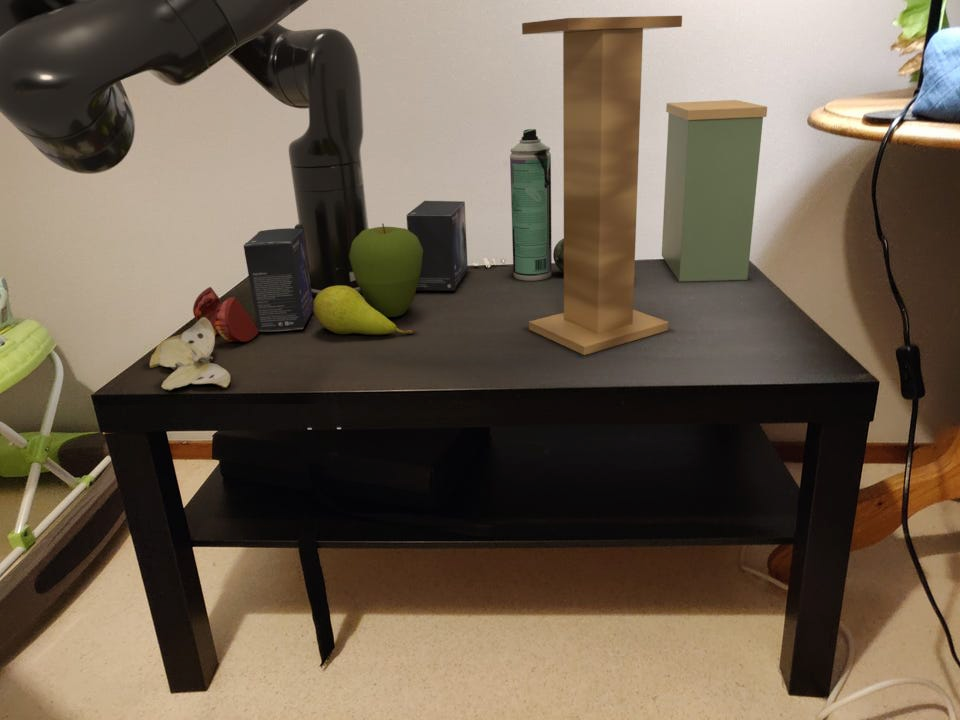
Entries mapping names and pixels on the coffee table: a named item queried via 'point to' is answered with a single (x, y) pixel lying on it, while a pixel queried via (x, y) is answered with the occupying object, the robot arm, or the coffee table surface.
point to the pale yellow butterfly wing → (155, 357)
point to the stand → (600, 180)
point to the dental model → (225, 316)
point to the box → (279, 279)
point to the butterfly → (192, 358)
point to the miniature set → (488, 262)
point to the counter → (711, 188)
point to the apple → (387, 268)
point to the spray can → (531, 208)
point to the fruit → (350, 313)
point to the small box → (440, 243)
